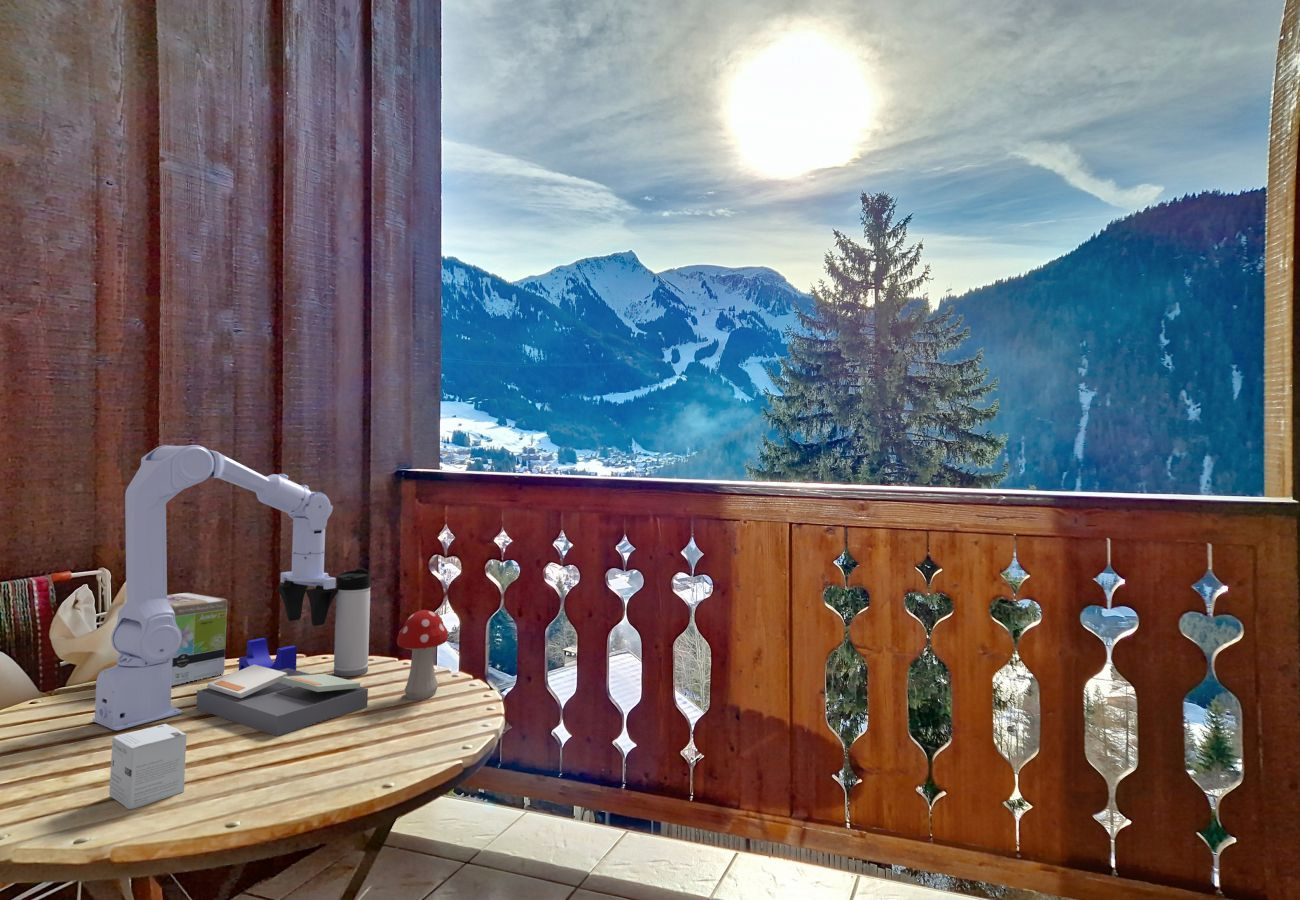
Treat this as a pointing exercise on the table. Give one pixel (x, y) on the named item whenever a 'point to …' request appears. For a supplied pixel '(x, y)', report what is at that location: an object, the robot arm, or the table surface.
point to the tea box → (198, 636)
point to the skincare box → (147, 765)
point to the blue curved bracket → (268, 656)
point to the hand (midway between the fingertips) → (306, 622)
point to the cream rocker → (247, 681)
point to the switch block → (282, 705)
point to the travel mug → (352, 623)
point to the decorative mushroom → (422, 651)
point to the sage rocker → (320, 682)
